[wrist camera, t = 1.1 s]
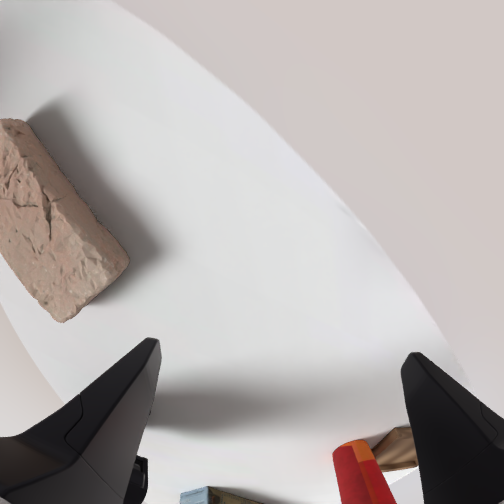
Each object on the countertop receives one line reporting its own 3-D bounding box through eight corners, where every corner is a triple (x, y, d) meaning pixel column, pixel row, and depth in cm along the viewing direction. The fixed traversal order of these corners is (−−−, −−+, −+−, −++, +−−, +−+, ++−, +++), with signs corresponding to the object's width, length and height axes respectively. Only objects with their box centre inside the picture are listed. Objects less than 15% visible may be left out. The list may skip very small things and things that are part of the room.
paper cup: (326, 466, 36) (344, 537, 23) (324, 445, 34) (346, 528, 21) (372, 451, 36) (398, 519, 23) (376, 429, 34) (408, 506, 20)
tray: (351, 467, 38) (354, 475, 36) (394, 427, 34) (398, 436, 32) (413, 460, 41) (415, 467, 39) (451, 424, 37) (455, 430, 35)
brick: (136, 256, 23) (117, 281, 19) (81, 307, 24) (60, 335, 20) (29, 114, 18) (-4, 113, 13) (-13, 180, 19) (-44, 189, 15)
